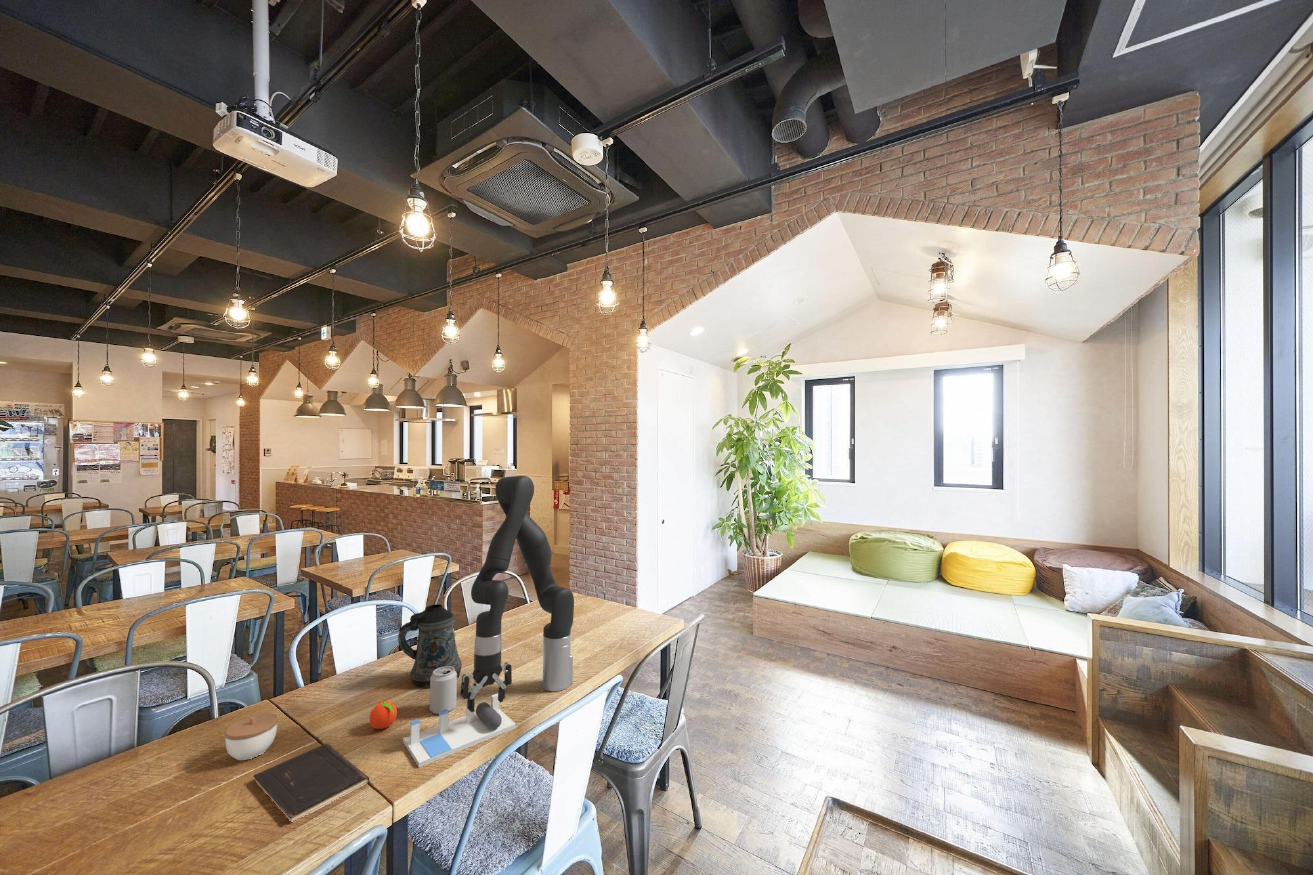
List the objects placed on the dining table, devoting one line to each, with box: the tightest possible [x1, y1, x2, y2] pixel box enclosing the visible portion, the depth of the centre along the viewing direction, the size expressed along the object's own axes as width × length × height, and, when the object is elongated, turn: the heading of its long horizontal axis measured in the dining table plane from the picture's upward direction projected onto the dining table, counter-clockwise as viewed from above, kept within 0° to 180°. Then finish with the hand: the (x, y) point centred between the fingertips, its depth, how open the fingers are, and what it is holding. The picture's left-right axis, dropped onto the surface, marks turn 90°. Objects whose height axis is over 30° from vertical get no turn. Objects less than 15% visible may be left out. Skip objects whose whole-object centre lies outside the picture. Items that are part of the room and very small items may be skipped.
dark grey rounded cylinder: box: [475, 701, 502, 729], centre depth 139 cm, size 12×4×4 cm, turn 42°
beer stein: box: [397, 603, 463, 689], centre depth 169 cm, size 16×19×25 cm
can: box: [429, 666, 458, 715], centre depth 149 cm, size 8×8×12 cm
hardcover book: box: [253, 742, 370, 823], centre depth 116 cm, size 16×23×2 cm
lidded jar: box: [224, 712, 279, 760], centre depth 127 cm, size 11×11×9 cm
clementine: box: [369, 700, 398, 730], centre depth 139 cm, size 8×7×7 cm
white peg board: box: [402, 692, 517, 768], centre depth 135 cm, size 26×14×7 cm, turn 132°
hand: (486, 705), depth 139 cm, fingers open, 8 cm apart
